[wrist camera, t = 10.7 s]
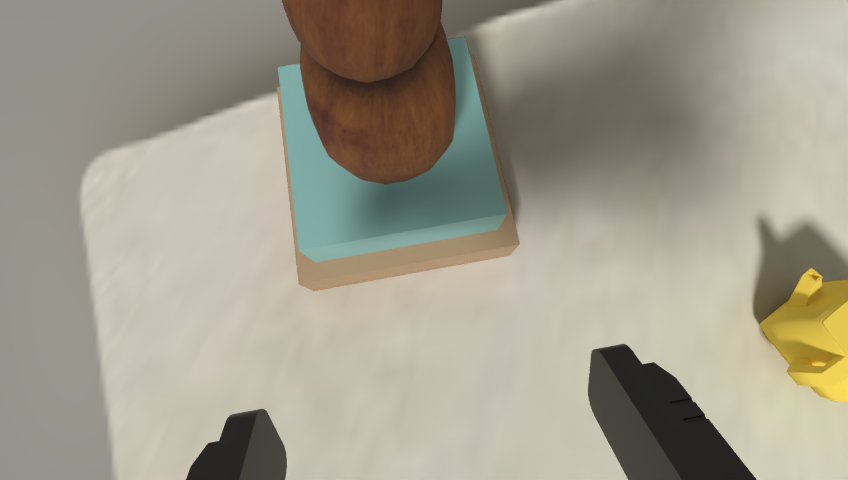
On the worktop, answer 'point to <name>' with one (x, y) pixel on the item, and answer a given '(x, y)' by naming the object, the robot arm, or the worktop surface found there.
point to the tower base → (395, 196)
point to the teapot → (814, 335)
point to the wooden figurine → (377, 83)
